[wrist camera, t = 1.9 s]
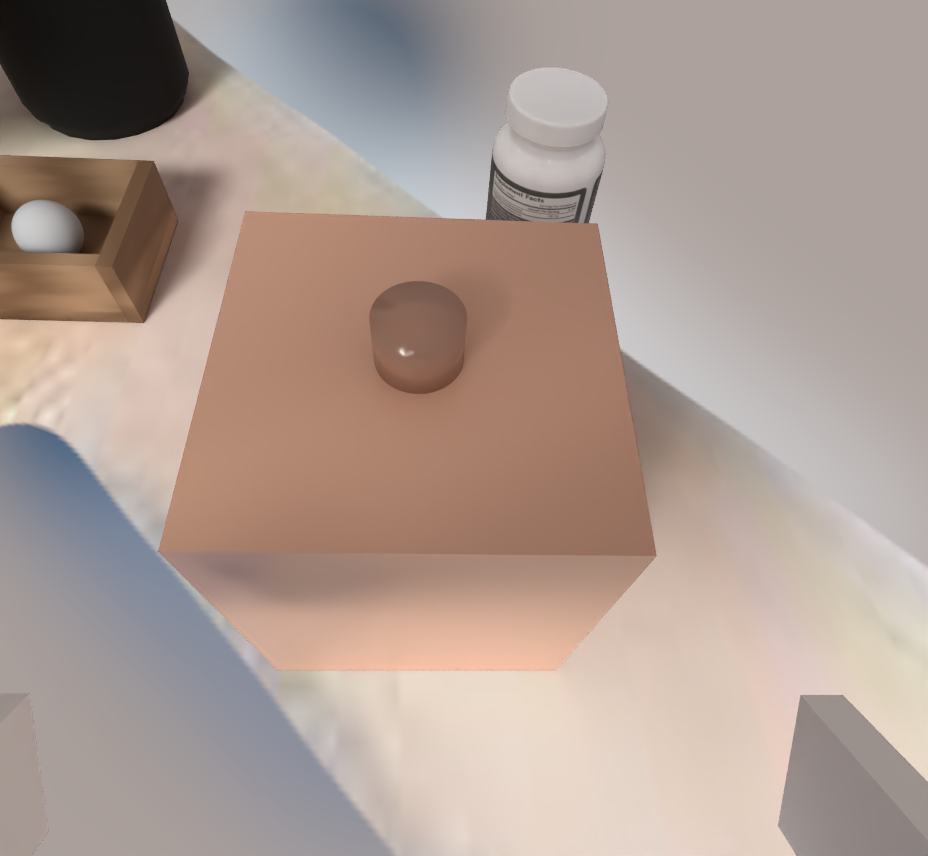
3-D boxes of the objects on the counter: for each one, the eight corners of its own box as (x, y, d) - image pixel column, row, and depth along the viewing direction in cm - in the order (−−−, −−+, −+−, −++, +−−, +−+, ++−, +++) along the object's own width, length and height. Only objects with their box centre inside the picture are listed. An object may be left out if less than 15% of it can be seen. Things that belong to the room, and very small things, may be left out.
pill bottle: (521, 210, 40) (547, 46, 31) (596, 254, 38) (644, 93, 30) (462, 257, 37) (473, 93, 29) (539, 306, 36) (574, 147, 27)
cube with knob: (277, 670, 25) (128, 522, 12) (310, 430, 31) (231, 165, 18) (555, 670, 25) (681, 528, 13) (536, 434, 31) (610, 180, 19)
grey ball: (22, 275, 34) (-13, 227, 31) (43, 233, 35) (11, 185, 33) (84, 276, 34) (54, 229, 31) (101, 235, 36) (75, 187, 33)
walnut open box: (-53, 317, 33) (-108, 260, 30) (4, 214, 37) (-38, 153, 34) (143, 322, 33) (111, 266, 30) (178, 220, 38) (153, 161, 34)
